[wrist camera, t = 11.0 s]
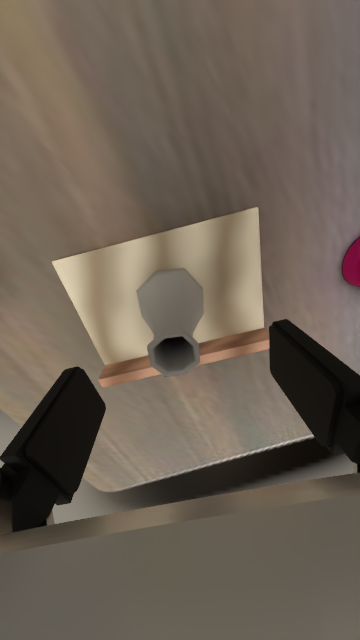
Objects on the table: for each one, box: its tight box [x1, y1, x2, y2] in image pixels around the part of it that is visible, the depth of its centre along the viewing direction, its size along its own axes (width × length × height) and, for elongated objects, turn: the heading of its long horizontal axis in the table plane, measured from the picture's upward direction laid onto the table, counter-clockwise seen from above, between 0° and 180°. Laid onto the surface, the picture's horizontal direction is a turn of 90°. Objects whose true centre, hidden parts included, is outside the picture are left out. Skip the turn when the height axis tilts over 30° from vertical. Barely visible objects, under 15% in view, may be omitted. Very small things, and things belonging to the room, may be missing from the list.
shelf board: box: [52, 207, 269, 387], centre depth 20 cm, size 20×14×4 cm
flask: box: [136, 268, 204, 377], centre depth 16 cm, size 7×7×10 cm
